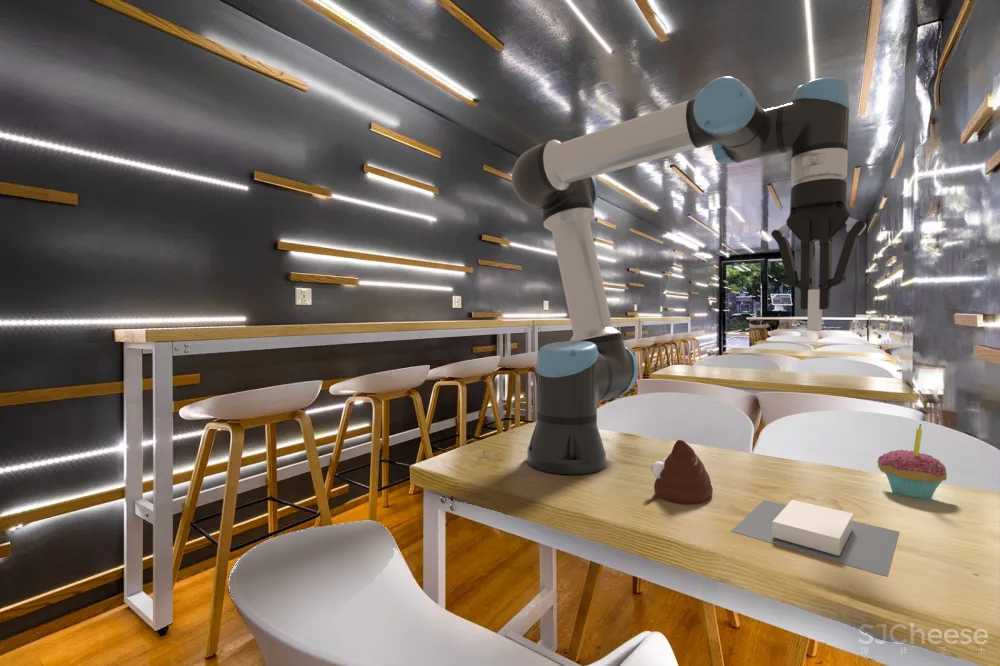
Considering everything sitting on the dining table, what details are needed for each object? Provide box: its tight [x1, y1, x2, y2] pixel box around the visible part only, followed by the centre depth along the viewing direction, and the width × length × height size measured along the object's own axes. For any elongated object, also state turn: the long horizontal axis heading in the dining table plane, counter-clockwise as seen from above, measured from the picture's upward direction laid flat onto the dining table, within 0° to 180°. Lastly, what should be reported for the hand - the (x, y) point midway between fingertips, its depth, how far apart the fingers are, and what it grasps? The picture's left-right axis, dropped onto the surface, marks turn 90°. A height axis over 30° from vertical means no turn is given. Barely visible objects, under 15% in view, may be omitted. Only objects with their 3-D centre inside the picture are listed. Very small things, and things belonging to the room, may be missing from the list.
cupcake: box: [877, 423, 948, 501], centre depth 78 cm, size 9×8×12 cm
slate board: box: [730, 499, 900, 578], centre depth 63 cm, size 16×15×1 cm
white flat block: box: [772, 499, 854, 556], centre depth 62 cm, size 7×2×10 cm
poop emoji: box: [651, 439, 714, 505], centre depth 77 cm, size 10×8×9 cm
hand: (814, 330), depth 78 cm, fingers closed
